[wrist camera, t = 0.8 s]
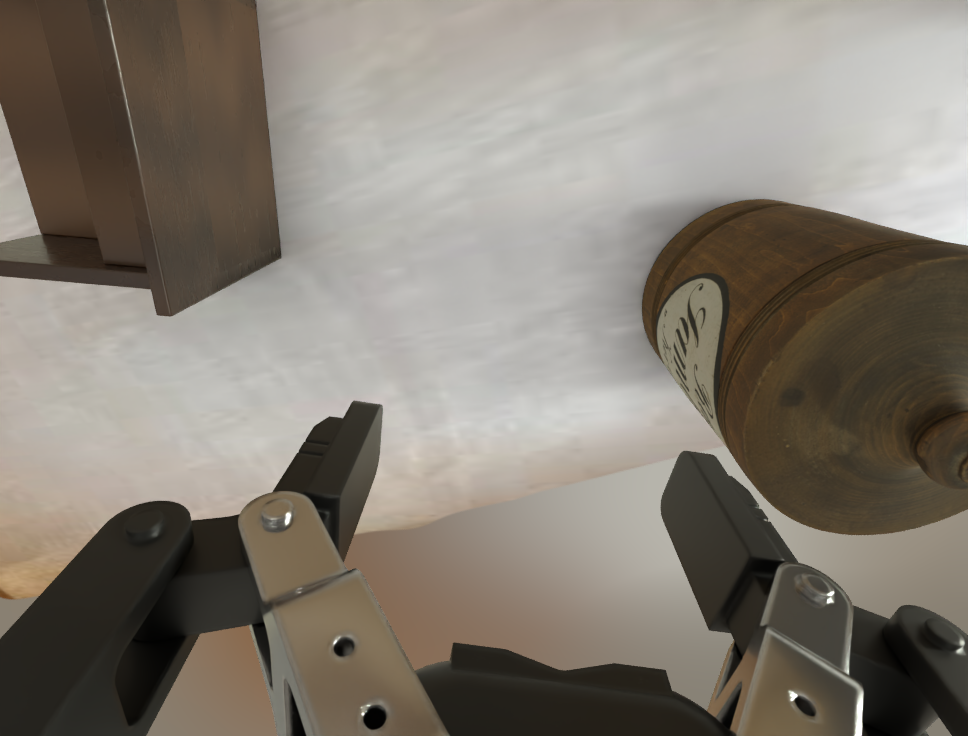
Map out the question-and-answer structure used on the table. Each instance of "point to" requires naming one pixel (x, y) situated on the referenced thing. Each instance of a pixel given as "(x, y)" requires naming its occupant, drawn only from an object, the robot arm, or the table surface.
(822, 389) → the wooden container
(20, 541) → the table surface
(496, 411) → the table surface
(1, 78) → the shelf
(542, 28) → the table surface
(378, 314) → the table surface
